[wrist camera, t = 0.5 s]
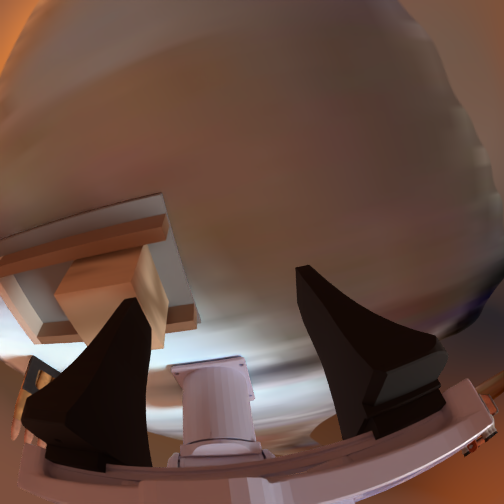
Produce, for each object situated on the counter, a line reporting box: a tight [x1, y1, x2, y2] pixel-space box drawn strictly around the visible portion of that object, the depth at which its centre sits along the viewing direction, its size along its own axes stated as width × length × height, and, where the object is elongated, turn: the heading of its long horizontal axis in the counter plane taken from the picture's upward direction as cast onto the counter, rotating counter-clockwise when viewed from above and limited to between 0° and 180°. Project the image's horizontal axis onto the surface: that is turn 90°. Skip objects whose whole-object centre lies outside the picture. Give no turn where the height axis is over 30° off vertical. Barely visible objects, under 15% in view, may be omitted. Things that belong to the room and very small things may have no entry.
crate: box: [54, 244, 169, 350], centre depth 19 cm, size 6×6×5 cm
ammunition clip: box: [11, 356, 61, 448], centre depth 23 cm, size 11×2×12 cm, turn 41°
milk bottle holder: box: [461, 394, 498, 456], centre depth 66 cm, size 21×35×19 cm, turn 56°
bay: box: [0, 193, 201, 344], centre depth 20 cm, size 12×18×2 cm, turn 97°
